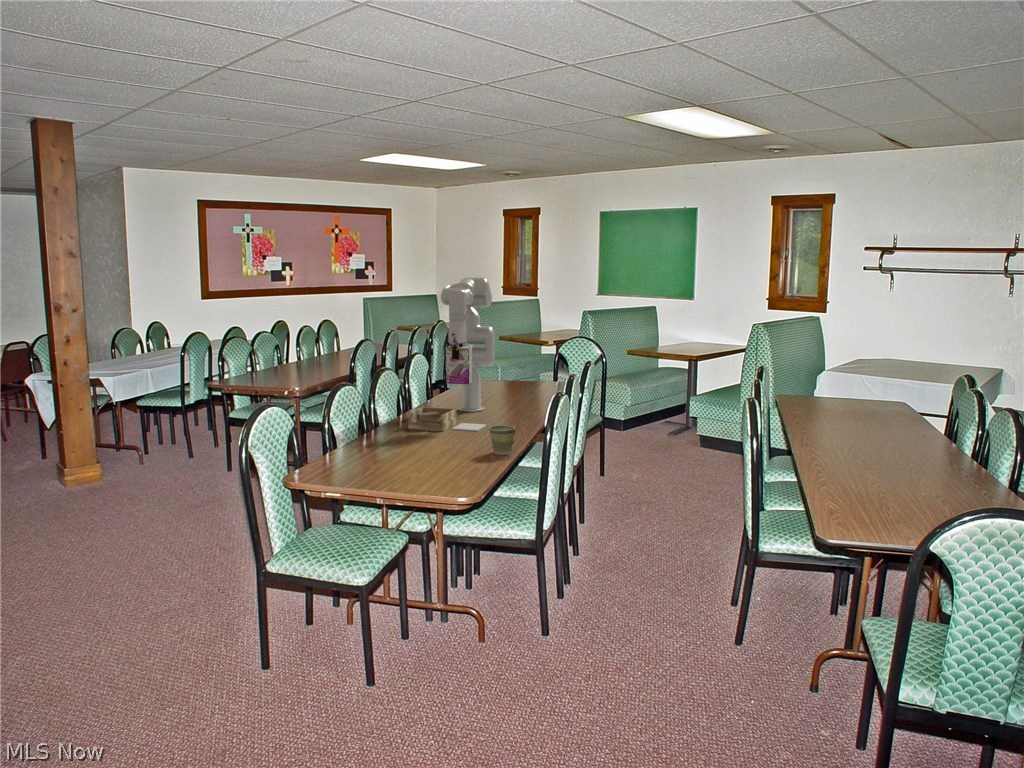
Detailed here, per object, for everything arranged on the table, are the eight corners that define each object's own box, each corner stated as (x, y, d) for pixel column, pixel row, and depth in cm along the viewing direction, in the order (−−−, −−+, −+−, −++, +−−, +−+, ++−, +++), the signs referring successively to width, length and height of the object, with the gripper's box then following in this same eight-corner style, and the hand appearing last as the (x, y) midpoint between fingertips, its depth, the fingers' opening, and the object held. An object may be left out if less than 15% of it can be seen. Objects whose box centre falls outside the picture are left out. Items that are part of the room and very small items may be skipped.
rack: (423, 421, 352) (423, 407, 351) (457, 423, 347) (456, 408, 346) (408, 429, 336) (407, 413, 335) (442, 431, 331) (442, 415, 330)
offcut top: (417, 418, 338) (416, 413, 337) (435, 416, 341) (435, 411, 341) (420, 420, 333) (420, 415, 333) (439, 419, 337) (439, 413, 336)
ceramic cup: (487, 455, 289) (487, 430, 287) (491, 449, 299) (491, 424, 297) (521, 456, 287) (521, 431, 285) (524, 450, 297) (524, 425, 295)
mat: (461, 424, 346) (461, 422, 346) (486, 425, 342) (486, 424, 342) (452, 429, 335) (452, 428, 334) (477, 431, 331) (477, 430, 331)
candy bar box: (445, 383, 336) (444, 347, 333) (448, 382, 341) (447, 346, 338) (469, 384, 334) (469, 347, 331) (472, 382, 339) (472, 346, 336)
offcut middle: (418, 422, 341) (418, 417, 341) (442, 423, 340) (442, 417, 339) (416, 425, 336) (415, 419, 335) (440, 425, 334) (440, 420, 334)
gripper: (457, 316, 342) (458, 355, 345) (441, 318, 326) (442, 360, 329) (472, 316, 339) (473, 356, 342) (457, 319, 323) (458, 360, 326)
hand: (458, 357), depth 335 cm, fingers closed on candy bar box, 5 cm apart
